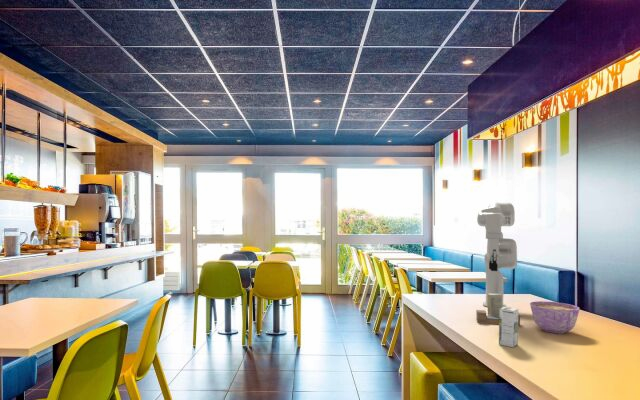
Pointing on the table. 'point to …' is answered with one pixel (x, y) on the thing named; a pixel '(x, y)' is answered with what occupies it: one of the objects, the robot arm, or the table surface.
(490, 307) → the skincare box
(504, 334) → the syrup box
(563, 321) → the bowl of food
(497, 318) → the walnut cradle
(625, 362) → the table surface
